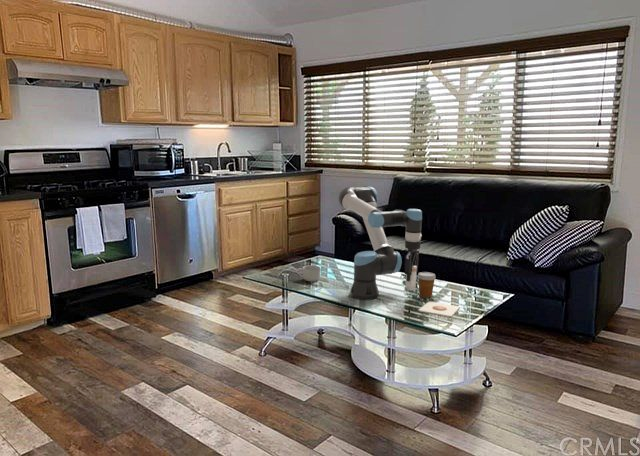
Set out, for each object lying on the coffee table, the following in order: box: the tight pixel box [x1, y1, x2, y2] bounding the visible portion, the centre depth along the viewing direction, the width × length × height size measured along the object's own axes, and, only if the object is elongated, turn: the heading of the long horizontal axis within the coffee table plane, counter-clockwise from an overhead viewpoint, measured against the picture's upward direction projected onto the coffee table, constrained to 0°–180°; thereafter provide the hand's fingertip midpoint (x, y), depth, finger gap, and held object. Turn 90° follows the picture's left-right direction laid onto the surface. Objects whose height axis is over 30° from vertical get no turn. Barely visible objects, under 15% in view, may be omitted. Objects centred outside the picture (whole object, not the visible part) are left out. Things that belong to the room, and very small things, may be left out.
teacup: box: [296, 264, 322, 283], centre depth 291 cm, size 14×11×8 cm
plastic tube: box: [405, 265, 418, 292], centre depth 247 cm, size 5×5×12 cm
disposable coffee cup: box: [416, 271, 437, 298], centre depth 262 cm, size 10×10×12 cm
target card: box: [418, 300, 461, 318], centre depth 241 cm, size 16×16×1 cm
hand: (410, 285), depth 247 cm, fingers closed on plastic tube, 5 cm apart
